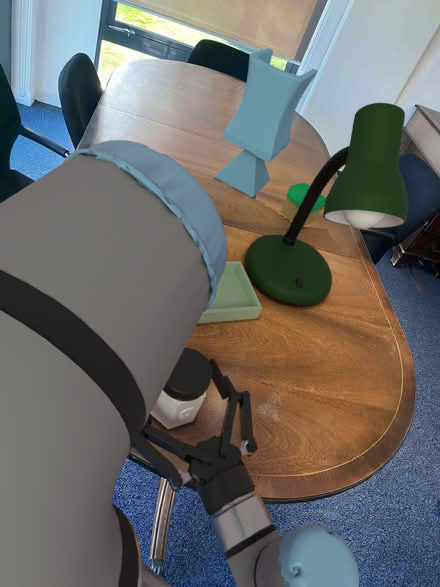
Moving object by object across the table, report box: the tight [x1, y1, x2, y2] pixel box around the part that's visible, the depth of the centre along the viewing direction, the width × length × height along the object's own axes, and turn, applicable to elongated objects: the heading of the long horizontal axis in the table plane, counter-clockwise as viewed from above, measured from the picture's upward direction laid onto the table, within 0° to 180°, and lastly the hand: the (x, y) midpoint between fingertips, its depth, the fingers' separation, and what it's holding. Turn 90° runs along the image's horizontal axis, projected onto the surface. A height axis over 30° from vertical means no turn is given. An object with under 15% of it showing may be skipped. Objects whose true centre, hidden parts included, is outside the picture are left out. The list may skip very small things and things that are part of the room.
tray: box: [197, 260, 264, 325], centre depth 86 cm, size 15×15×4 cm
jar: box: [151, 347, 212, 430], centre depth 63 cm, size 9×8×12 cm
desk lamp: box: [244, 102, 410, 308], centre depth 80 cm, size 31×23×45 cm
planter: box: [214, 47, 319, 198], centre depth 113 cm, size 16×16×35 cm
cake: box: [279, 182, 327, 227], centre depth 116 cm, size 10×11×10 cm
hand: (174, 373), depth 64 cm, fingers open, 13 cm apart
